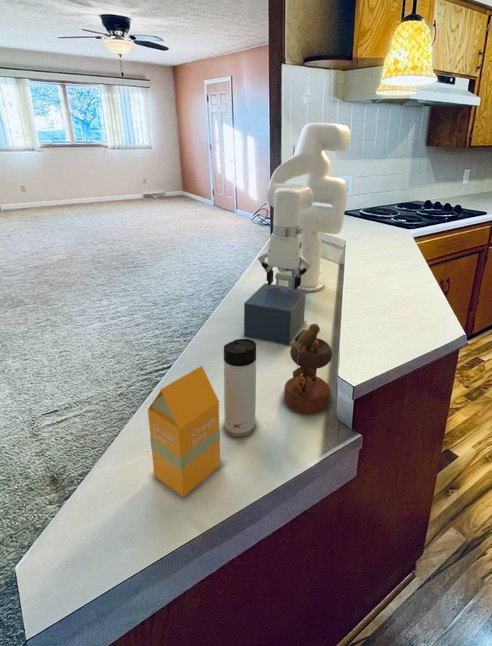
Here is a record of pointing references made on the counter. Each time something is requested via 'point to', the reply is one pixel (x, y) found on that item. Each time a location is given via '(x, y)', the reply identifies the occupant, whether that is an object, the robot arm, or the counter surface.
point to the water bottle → (286, 272)
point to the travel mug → (239, 387)
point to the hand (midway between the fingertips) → (283, 285)
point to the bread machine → (273, 323)
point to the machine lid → (276, 296)
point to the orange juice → (185, 432)
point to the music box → (308, 373)
